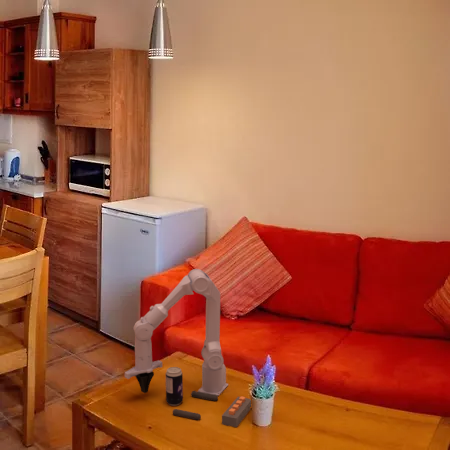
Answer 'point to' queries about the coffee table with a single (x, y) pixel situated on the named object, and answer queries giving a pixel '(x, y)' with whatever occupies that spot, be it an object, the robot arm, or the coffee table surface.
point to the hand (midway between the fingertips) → (144, 391)
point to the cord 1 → (186, 414)
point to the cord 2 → (204, 396)
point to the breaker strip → (236, 411)
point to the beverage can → (174, 386)
